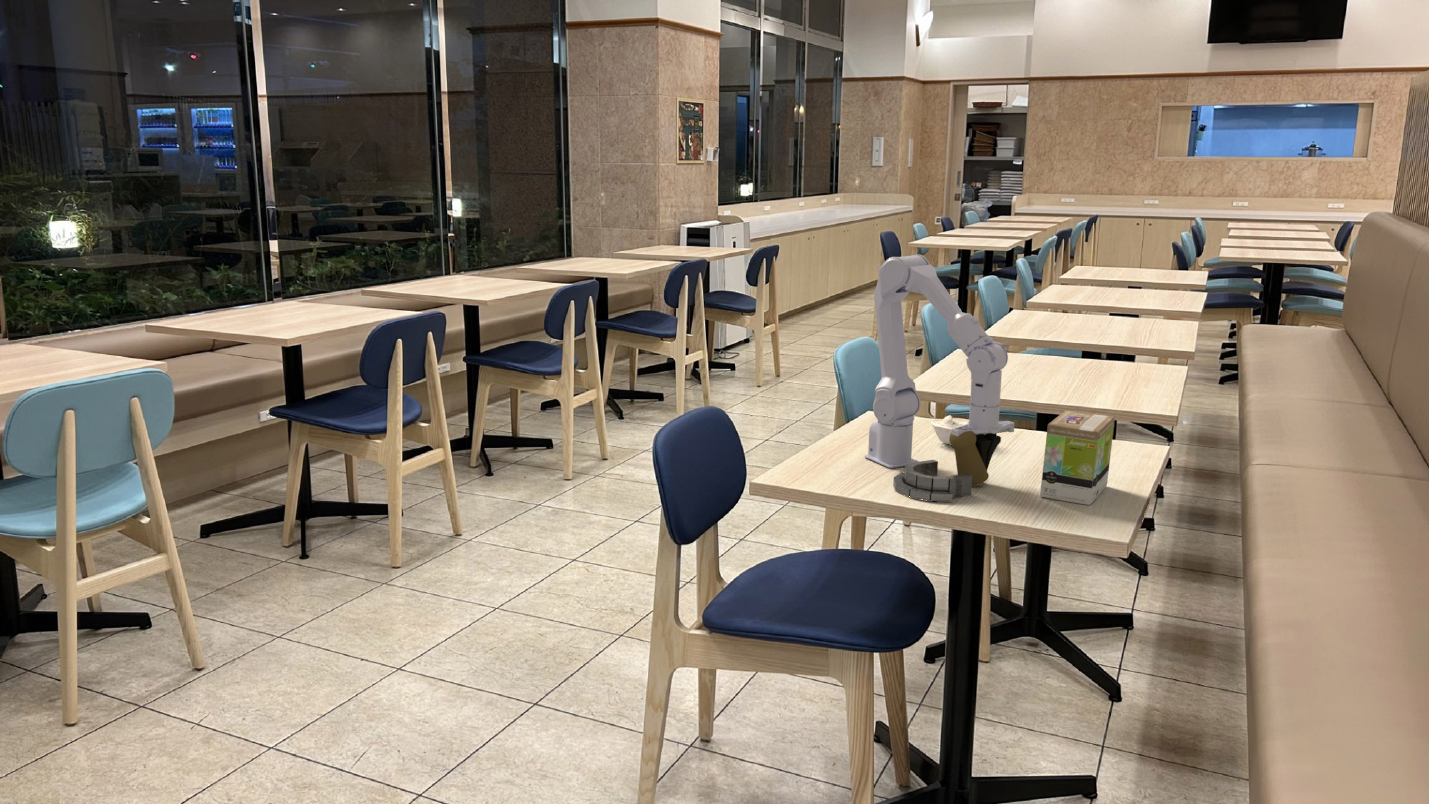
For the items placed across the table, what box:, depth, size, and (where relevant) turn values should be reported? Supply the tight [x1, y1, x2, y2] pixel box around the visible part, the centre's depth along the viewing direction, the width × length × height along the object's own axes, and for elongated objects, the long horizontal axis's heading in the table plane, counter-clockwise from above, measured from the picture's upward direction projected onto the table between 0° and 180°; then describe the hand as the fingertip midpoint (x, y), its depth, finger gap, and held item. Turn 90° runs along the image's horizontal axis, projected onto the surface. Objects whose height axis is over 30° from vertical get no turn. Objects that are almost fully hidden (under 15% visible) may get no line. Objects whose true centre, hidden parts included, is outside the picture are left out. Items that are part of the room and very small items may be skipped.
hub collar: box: [892, 459, 973, 503], centre depth 205 cm, size 16×12×4 cm
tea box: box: [1039, 410, 1115, 506], centre depth 204 cm, size 15×10×15 cm, turn 149°
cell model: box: [930, 415, 969, 446], centre depth 239 cm, size 10×12×7 cm
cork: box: [949, 428, 990, 487], centre depth 208 cm, size 6×6×11 cm
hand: (980, 470), depth 211 cm, fingers closed, pressing on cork
